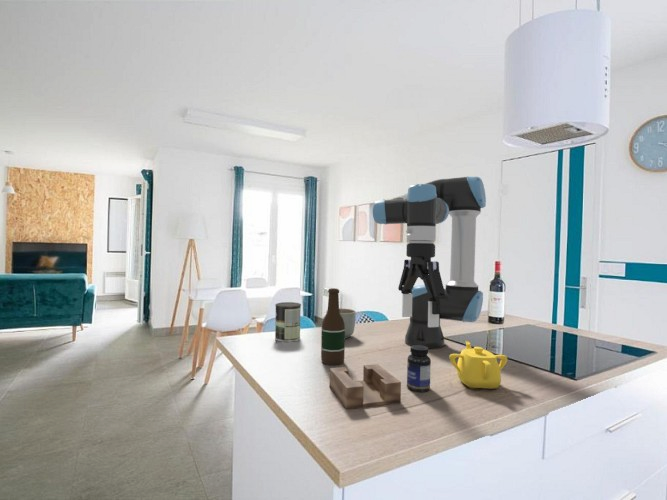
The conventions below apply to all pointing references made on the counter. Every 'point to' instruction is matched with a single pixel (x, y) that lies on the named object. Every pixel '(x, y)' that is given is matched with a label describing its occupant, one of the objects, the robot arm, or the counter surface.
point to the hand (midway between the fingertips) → (419, 321)
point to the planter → (348, 320)
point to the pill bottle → (418, 369)
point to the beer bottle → (333, 332)
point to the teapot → (478, 367)
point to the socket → (365, 387)
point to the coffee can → (287, 321)
